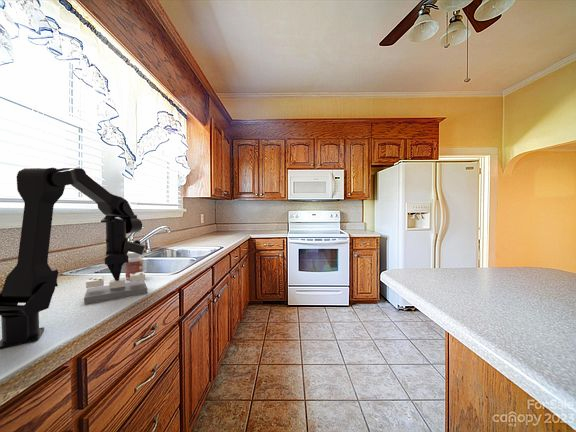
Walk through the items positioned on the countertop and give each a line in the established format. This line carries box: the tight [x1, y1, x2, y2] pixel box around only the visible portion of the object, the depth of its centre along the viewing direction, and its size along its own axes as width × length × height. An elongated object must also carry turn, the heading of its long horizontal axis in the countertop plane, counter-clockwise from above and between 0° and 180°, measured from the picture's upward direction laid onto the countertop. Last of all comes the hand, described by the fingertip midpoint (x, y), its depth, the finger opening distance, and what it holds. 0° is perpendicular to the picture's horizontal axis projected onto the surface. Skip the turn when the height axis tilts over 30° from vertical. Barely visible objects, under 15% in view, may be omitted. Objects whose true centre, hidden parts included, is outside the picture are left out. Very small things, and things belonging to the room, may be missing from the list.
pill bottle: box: [124, 251, 143, 280], centre depth 105 cm, size 6×6×11 cm
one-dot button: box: [108, 277, 126, 289], centre depth 85 cm, size 4×4×2 cm
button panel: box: [83, 280, 148, 305], centre depth 85 cm, size 11×17×2 cm, turn 125°
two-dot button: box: [129, 271, 146, 282], centre depth 89 cm, size 4×4×2 cm
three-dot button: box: [85, 276, 105, 289], centre depth 82 cm, size 4×4×2 cm
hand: (117, 279), depth 85 cm, fingers closed, pressing on one-dot button
